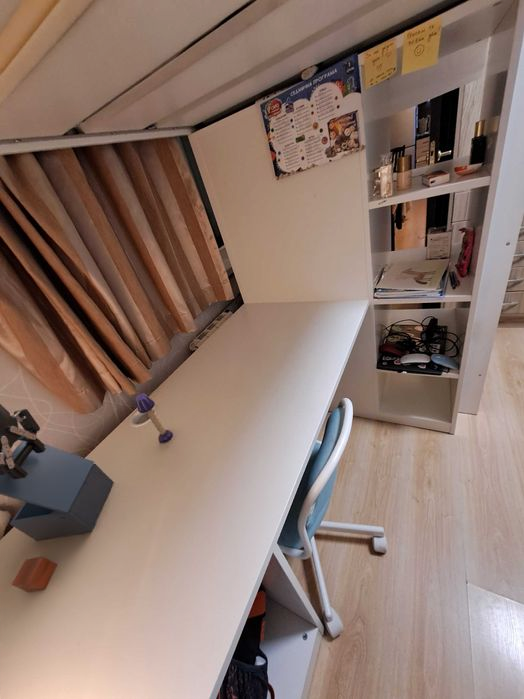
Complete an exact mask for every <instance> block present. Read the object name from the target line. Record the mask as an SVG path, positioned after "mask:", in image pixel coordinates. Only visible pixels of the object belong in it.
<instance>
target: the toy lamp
mask: <svg viewBox="0 0 524 699" xmlns="http://www.w3.org/2000/svg"><path fill="white" fill-rule="evenodd" d="M134 401H135V405H136V408H137V411H138V413H139V414H146V415H147V416H148V417H149V419H150V421H151V423H152V424H153V425H154V427H155V428H156V430H157V432H158V433H159V434H158V442H160V443H161V444H162V443H167V442H168V441H170V440H171V439H172V437H173V432H172V431H171V430H170V429H165V428H164V426H163V425H162V423H161V421H160V420H159V418H158V417H157V414H155V412H154V410H153V409H154V407H155V404H156V402H155V401H154V400H153V399H152V398H151V397H150V396H148V395H147V394H145V393H140V394H139V395H137V396H136V397H135V400H134Z"/></svg>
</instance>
